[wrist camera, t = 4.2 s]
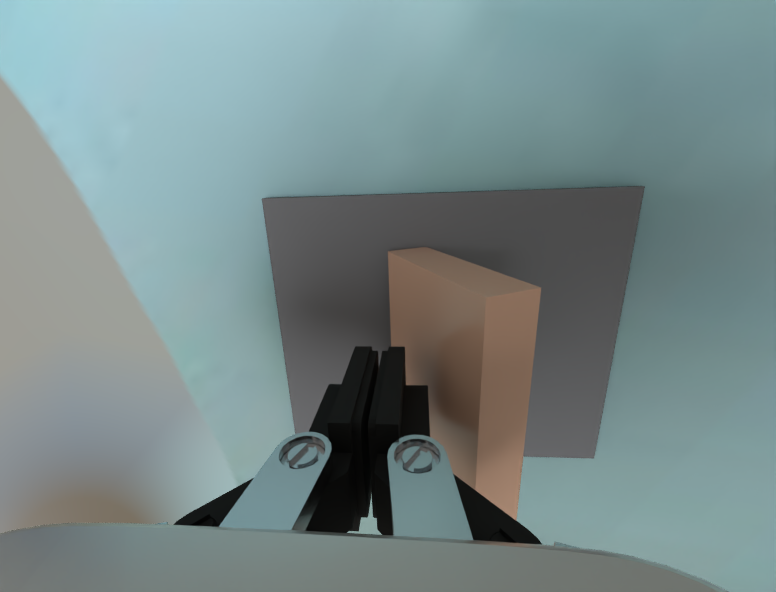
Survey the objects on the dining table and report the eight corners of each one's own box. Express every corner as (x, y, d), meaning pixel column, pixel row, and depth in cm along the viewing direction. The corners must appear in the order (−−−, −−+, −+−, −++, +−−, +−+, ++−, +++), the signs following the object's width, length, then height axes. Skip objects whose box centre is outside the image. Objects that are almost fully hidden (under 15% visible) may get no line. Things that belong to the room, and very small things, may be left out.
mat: (638, 186, 13) (644, 186, 13) (590, 452, 17) (594, 458, 17) (265, 197, 14) (262, 198, 14) (300, 444, 18) (297, 450, 18)
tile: (430, 246, 14) (547, 286, 9) (429, 417, 17) (520, 529, 11) (387, 251, 13) (486, 297, 8) (394, 428, 16) (471, 551, 11)
